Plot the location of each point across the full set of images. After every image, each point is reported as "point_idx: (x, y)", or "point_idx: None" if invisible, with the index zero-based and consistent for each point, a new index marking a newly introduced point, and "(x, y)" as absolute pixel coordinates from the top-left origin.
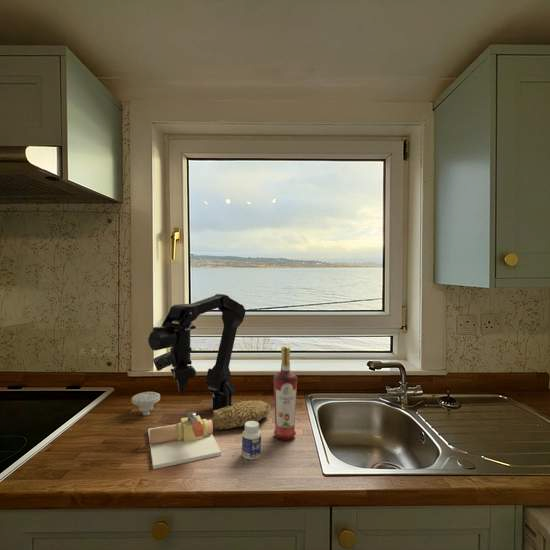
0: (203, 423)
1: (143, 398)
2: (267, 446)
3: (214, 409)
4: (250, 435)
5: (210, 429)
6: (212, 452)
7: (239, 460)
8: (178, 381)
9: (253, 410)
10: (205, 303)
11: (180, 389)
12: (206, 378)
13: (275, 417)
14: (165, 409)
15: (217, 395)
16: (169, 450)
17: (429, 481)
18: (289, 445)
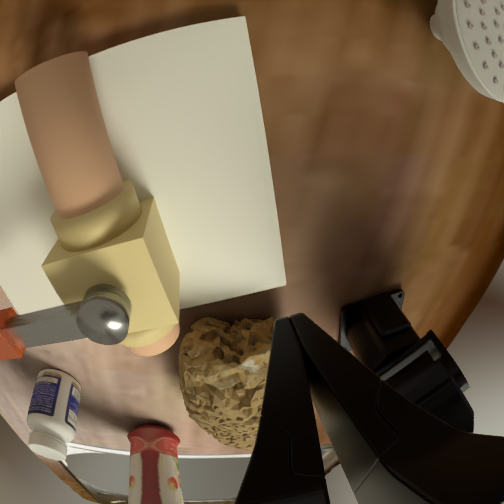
0: None
1: (483, 6)
2: (104, 407)
3: (363, 309)
4: (30, 428)
5: None
6: None
7: (31, 360)
8: (251, 461)
9: (224, 437)
10: None
11: (273, 357)
12: (450, 388)
13: (146, 467)
14: (459, 112)
15: (383, 360)
16: (10, 175)
17: (65, 476)
18: (116, 430)
